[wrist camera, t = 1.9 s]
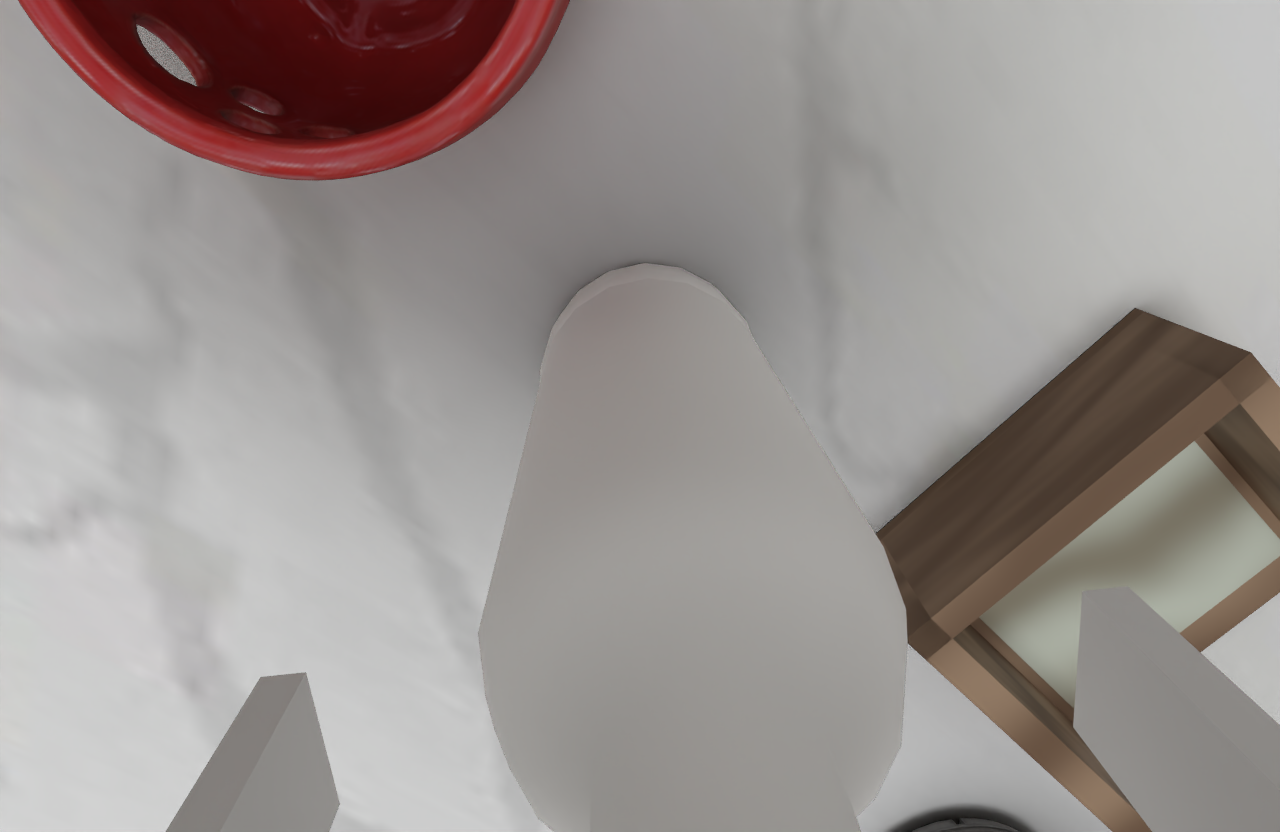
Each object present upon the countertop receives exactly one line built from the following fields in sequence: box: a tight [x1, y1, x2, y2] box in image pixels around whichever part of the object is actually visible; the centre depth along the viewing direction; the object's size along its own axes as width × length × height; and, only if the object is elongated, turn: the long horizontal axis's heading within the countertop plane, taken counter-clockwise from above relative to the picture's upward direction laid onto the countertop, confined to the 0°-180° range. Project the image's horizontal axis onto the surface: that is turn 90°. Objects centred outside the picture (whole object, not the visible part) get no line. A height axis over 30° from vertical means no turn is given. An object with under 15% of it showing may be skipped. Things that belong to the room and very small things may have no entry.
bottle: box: [478, 263, 908, 832], centre depth 21 cm, size 8×8×30 cm
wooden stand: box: [876, 308, 1280, 832], centre depth 35 cm, size 14×14×7 cm
